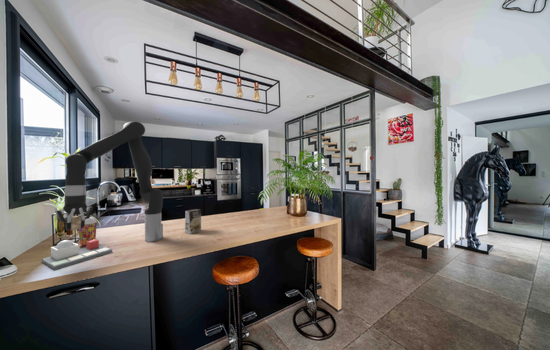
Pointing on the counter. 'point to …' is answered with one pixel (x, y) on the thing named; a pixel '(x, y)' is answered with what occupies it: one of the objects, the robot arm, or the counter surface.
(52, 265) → the game board
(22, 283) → the counter surface
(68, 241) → the dome
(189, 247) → the counter surface
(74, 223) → the tan block
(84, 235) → the smoothie
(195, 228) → the coffee box
